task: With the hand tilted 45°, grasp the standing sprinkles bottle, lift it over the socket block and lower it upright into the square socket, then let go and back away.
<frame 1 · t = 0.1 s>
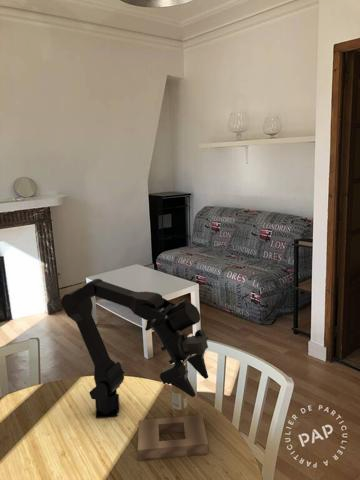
hand: (200, 386, 112), 15 cm above the table, tool tilted 35°, fingers open, 9 cm apart
sprinkles bottle: (180, 415, 124), on the table
socket block: (172, 441, 113), on the table
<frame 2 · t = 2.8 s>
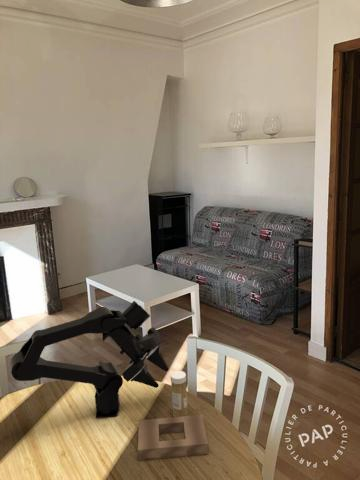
hand: (162, 378, 124), 11 cm above the table, tool tilted 45°, fingers open, 9 cm apart
nothing on the table moved.
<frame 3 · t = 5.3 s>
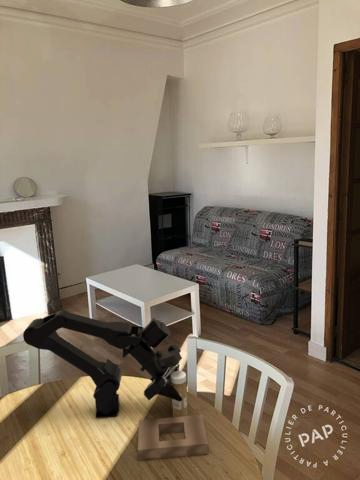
hand: (183, 395, 122), 7 cm above the table, tool tilted 45°, fingers closed on sprinkles bottle, 4 cm apart
sprinkles bottle: (180, 415, 124), on the table, touching gripper
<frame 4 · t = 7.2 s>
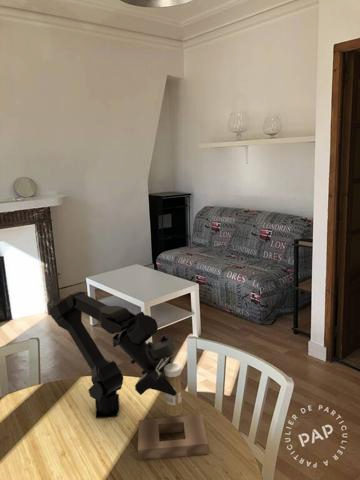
hand: (178, 389, 113), 14 cm above the table, tool tilted 45°, fingers closed on sprinkles bottle, 4 cm apart
sprinkles bottle: (174, 412, 115), point 7 cm above the table, touching gripper
when the fingers open (8 cm above the table, at t = 9.5 s): sprinkles bottle drops 1 cm, resting in socket block.
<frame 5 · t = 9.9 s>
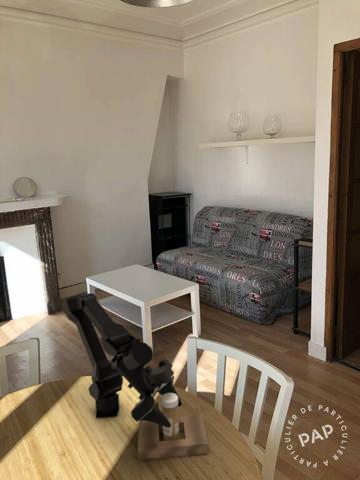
hand: (175, 415, 111), 8 cm above the table, tool tilted 45°, fingers open, 9 cm apart
sprinkles bottle: (171, 441, 113), resting in socket block
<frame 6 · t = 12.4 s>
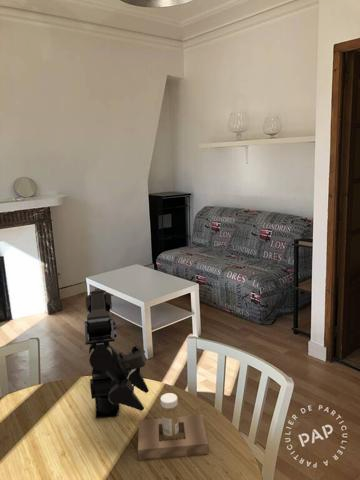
hand: (145, 400, 116), 10 cm above the table, tool tilted 40°, fingers open, 9 cm apart
nothing on the table moved.
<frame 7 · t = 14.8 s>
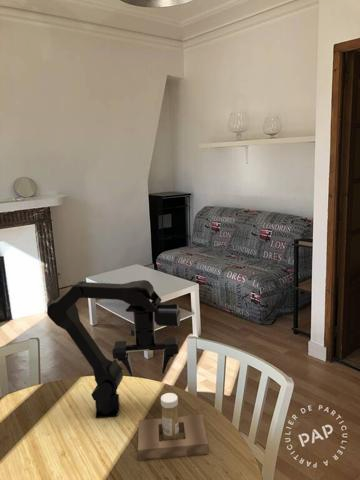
hand: (147, 374, 123), 13 cm above the table, tool pointing down, fingers open, 9 cm apart
nothing on the table moved.
at the end: sprinkles bottle 0.3 cm off-centre on the socket block, point 0.0 cm above the socket block's base; sprinkles bottle tilted 0°; the gripper is holding nothing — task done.
